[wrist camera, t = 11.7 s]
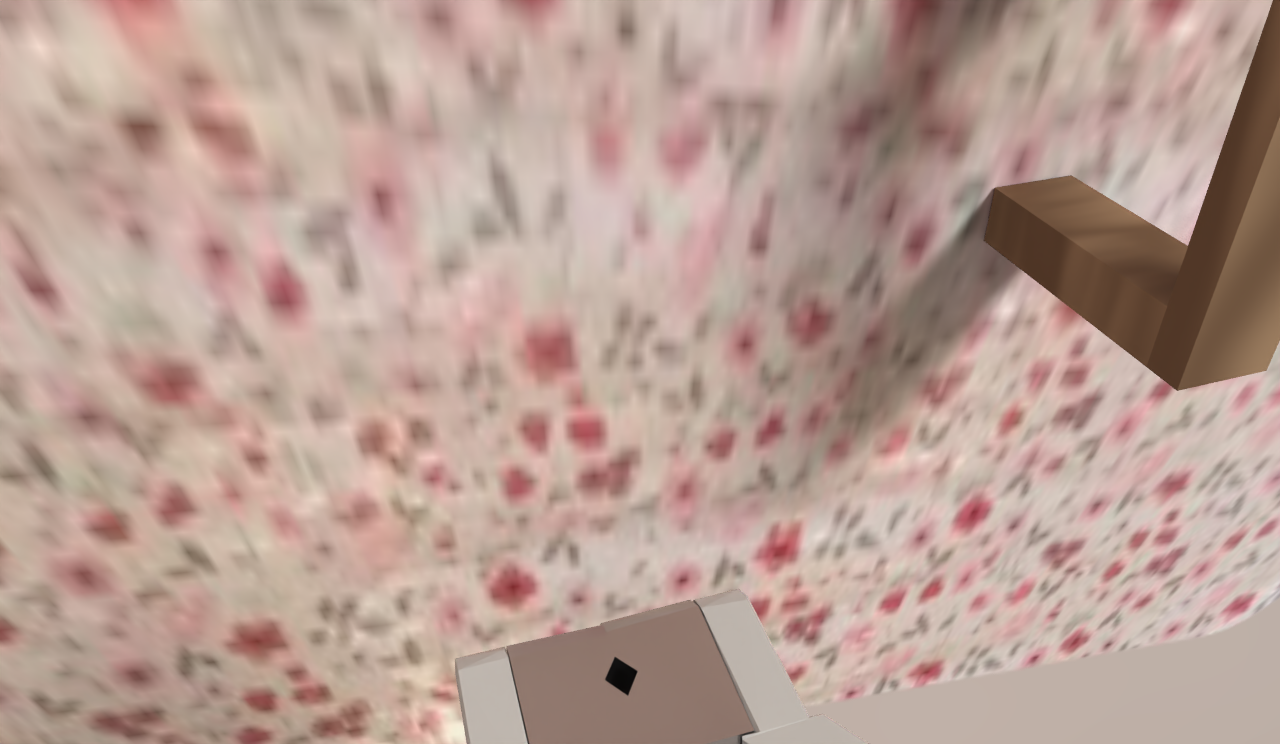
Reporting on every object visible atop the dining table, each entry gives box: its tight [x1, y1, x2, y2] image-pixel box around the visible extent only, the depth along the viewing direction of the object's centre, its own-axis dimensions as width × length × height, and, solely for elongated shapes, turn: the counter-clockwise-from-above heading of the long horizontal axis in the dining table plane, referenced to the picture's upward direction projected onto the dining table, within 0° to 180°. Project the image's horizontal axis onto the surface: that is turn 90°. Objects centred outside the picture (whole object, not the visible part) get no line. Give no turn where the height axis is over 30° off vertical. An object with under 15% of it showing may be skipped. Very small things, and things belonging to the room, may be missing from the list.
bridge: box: [984, 0, 1280, 391], centre depth 26 cm, size 3×15×9 cm, turn 2°
